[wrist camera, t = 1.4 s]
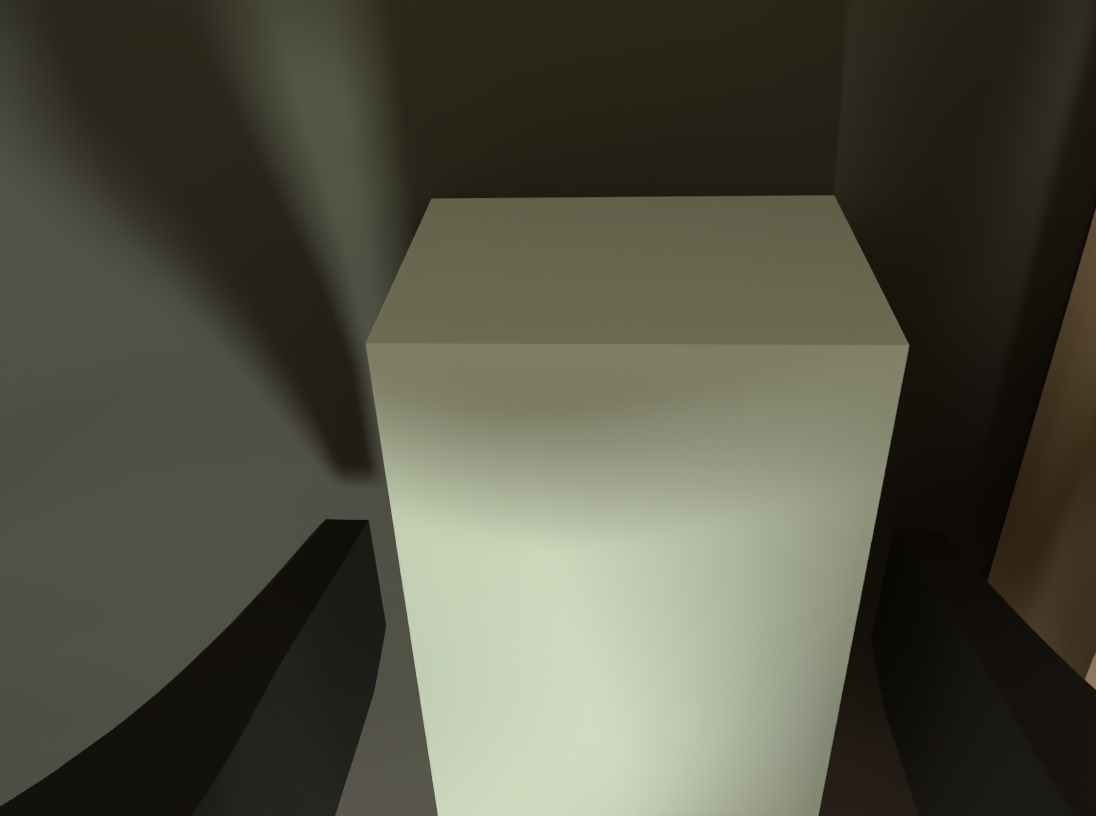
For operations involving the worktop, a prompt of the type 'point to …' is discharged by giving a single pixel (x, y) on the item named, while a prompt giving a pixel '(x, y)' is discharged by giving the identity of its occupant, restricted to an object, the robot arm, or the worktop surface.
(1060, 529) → the peg cradle
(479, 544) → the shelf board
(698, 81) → the worktop surface
